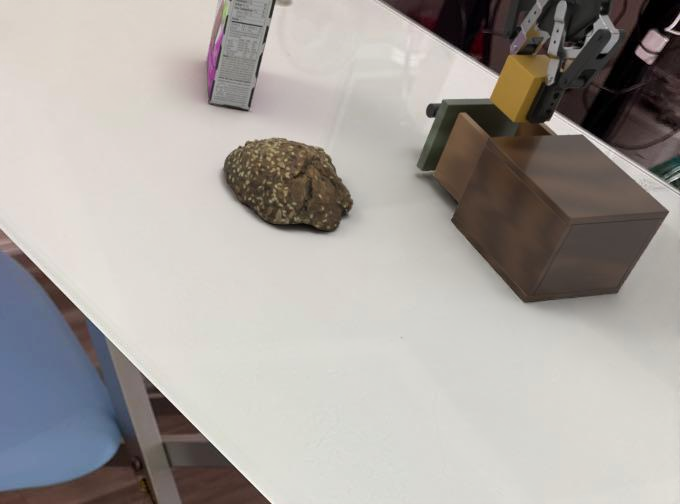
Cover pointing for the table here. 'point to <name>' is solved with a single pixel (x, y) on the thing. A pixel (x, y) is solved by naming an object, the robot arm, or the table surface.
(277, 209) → the bread roll
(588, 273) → the cabinet
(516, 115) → the block
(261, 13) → the candy bar box
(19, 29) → the table surface
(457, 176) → the drawer
